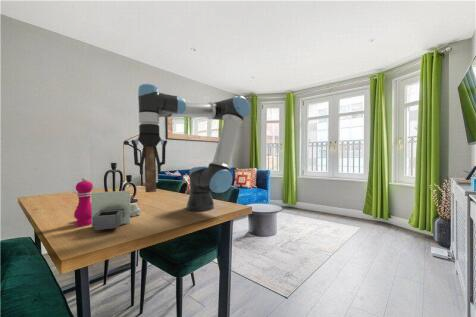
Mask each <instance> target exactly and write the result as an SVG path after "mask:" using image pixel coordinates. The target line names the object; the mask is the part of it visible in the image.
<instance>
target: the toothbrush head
mask: <svg viewBox="0 0 476 317" xmlns="http://www.w3.org/2000/svg"><path fill="white" fill-rule="evenodd" d="M140 215H141V207H139V206H138V203H136V202H133V203H130V217H132V218H134V217H136V216H140Z"/></svg>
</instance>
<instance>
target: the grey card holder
mask: <svg viewBox="0 0 476 317" xmlns="http://www.w3.org/2000/svg"><path fill="white" fill-rule="evenodd" d="M90 199H91V204H92V224H91V228H93V229H94V230H95V231H100V230H101V231H102V230H109V229H119V227H120V225H129V224H131V216H130V204H131V190H119V191H118V190H117V191H98V192H97V191H95V192H92V193H91V196H90Z"/></svg>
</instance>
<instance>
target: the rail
mask: <svg viewBox="0 0 476 317" xmlns="http://www.w3.org/2000/svg"><path fill="white" fill-rule="evenodd" d="M144 166H145V183H144V184H145V186H144V190H145V193H154V192H155V193H156V192H157V183H156V166H157V161H156V157H155V153H154V149H153V147H146V152H145V159H144Z"/></svg>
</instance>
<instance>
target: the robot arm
mask: <svg viewBox="0 0 476 317" xmlns="http://www.w3.org/2000/svg"><path fill="white" fill-rule="evenodd" d="M137 91H138V92H137V93H138V94H137V98H138V123H139V125H138V130H139V131H138V133H139V134H138V137H137V138H136V139H131V145H132V146H133V160H134V163H133V164H134V166H137V167H139V174H140V175H141V176H142V183H143V184H145V152H146V147H153V149H154V153H155V160H156V184H157V183H158V182H159V175H161V173H162V171H161V170H162V169H161V167H162V166H163V165H165V164H166V146H167V144H168V141H167V140H165V139H162V138H161V136H160V126H159V125H160V118H207V119H209V120H219V121H223V125H222V128H221V131H220V134H219V138H218V142H217V146H216V149H215V152H214V156H213V160H212V161H211V162H209V164H208V166H207V165H205V166H195V167H191V168H190V169H189V174H188V175H189V196H188V198H187V199H188V200H187V202H186V209H187V210H188V211H194V212H203V211H204V212H205V211H209V210H212V209H214V208H215V202H214V200H213V196H212V193H217V194H219V193H224V192H227V191H228V190H229V189H230V188H231V186H232V184H233V175H232V172H231V167H230V162H231V158H232V153H233V151H234V145H235V142H236V137H237V134H238V130H239V127H240V126H241V125H242V124H243V121H244V118H246V117H248V116H249V115H250V110H251V108H250V104H249V101H248V100H247V99H246V97H244V96H242V95H238V96H234V97H229V98H227V99H226V98H225V99H223V100H220V101H214V102H212V101H211V102H208V103H198V102H187V101H186V100H185V98H183V97H181V96H178V95H174V94H167V93H163V92H160V90H159V87H158V86H156V85H155V84H150V83H144V84H141V85H139V86H138V90H137ZM139 143H140V144H141V146H142V150H141V156H140V161H139V156H138V145H139ZM159 144H161V161H160V155H159V152H158V147H157V146H158V145H159Z"/></svg>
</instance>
